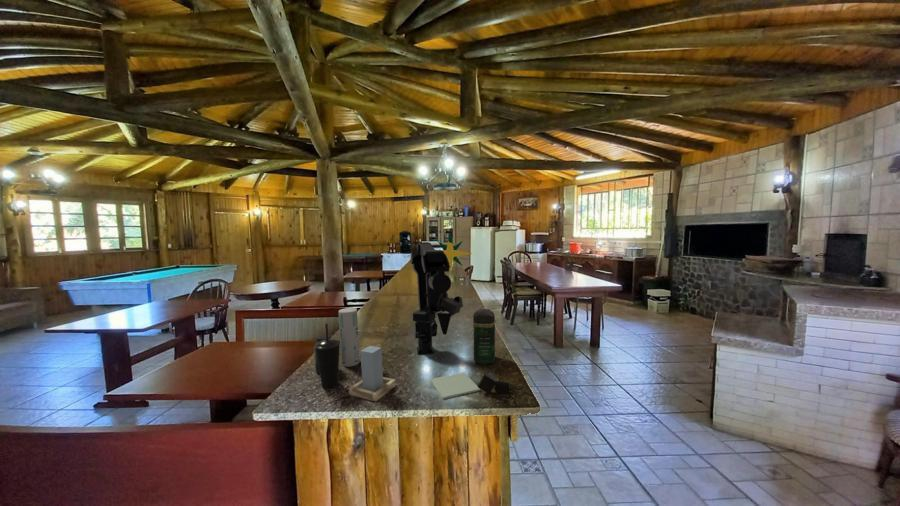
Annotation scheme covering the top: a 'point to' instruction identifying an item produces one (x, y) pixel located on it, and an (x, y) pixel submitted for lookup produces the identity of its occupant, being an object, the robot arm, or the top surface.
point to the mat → (454, 385)
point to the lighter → (493, 384)
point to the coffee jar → (484, 336)
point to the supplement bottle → (315, 350)
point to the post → (372, 368)
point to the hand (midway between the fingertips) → (437, 338)
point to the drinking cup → (328, 360)
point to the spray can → (349, 336)
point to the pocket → (374, 396)
